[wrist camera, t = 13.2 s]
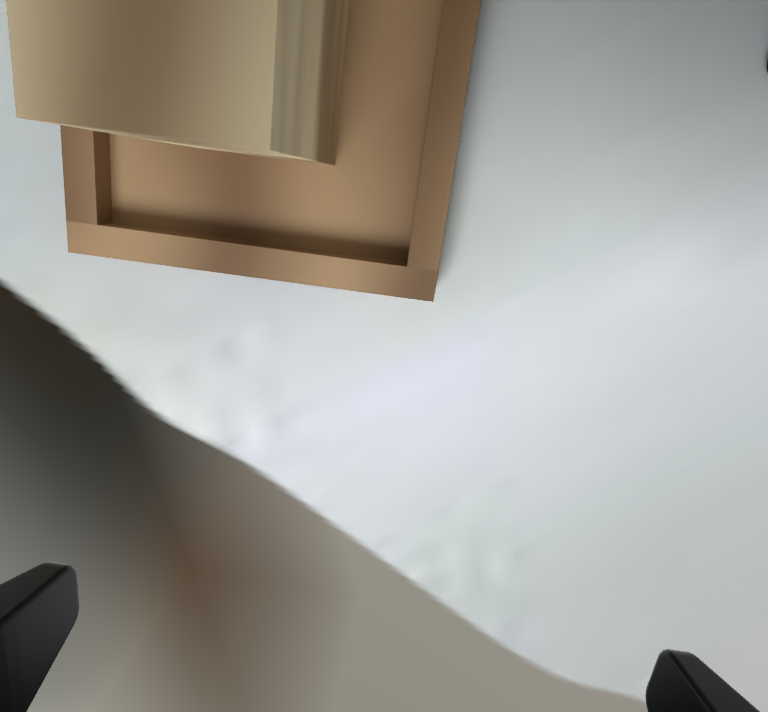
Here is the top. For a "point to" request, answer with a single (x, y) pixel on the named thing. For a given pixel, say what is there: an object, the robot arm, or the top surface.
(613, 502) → the top surface
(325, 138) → the maple block
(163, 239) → the walnut tray
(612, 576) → the top surface
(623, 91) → the top surface
